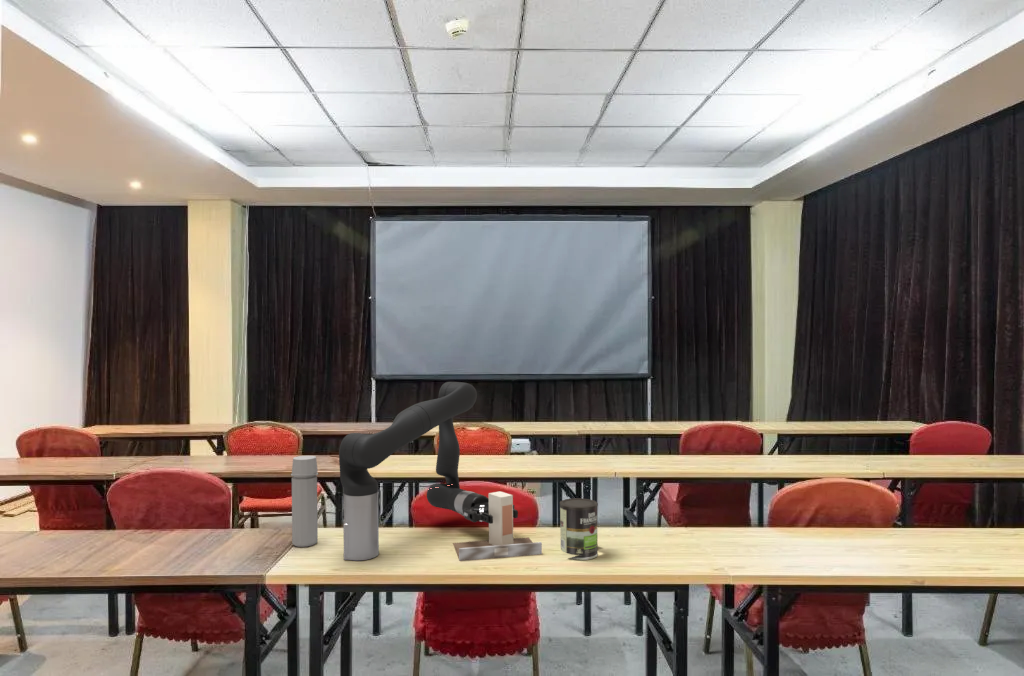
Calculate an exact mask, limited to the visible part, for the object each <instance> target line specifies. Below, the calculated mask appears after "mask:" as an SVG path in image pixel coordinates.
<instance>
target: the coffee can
mask: <svg viewBox="0 0 1024 676" xmlns="http://www.w3.org/2000/svg"><path fill="white" fill-rule="evenodd" d="M559 511H560V514H559V515H560V516H559V517H560V518H559V519H560V521H559V524H560V550H561V552H563V553H565V554H569V555H575V556H571V557H568V558H567V559H568V560H572V561H588V560H592V559H596V558H597V557H598V555H599V553H598V549H599V548H598V544H599V543H598V501H596V500H593V499H589V498H580V497H577V498H575V497H574V498H566V499H563V500H560V501H559Z"/></svg>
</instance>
